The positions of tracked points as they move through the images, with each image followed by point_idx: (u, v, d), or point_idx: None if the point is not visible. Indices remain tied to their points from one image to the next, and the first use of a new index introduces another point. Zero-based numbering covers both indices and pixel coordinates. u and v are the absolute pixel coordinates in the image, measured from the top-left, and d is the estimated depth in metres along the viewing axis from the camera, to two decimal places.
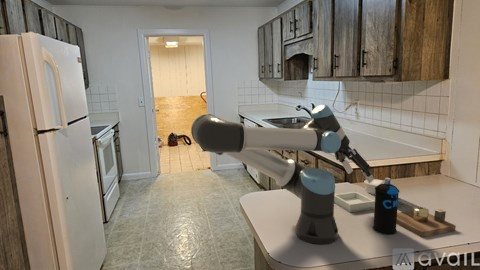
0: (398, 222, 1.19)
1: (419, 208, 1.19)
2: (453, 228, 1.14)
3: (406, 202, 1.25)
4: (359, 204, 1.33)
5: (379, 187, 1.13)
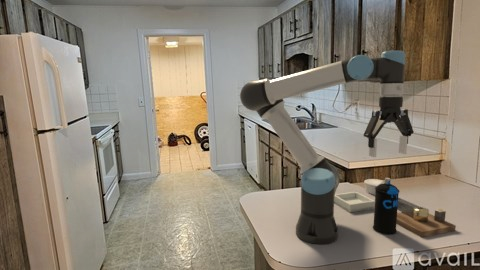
0: (398, 222, 1.19)
1: (419, 208, 1.19)
2: (453, 228, 1.14)
3: (406, 202, 1.25)
4: (359, 204, 1.33)
5: (379, 187, 1.13)
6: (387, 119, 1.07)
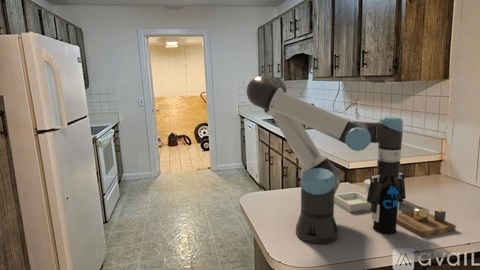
0: (398, 222, 1.19)
1: (419, 208, 1.19)
2: (453, 228, 1.14)
3: (406, 202, 1.25)
4: (359, 204, 1.33)
5: None
6: (386, 183, 1.11)
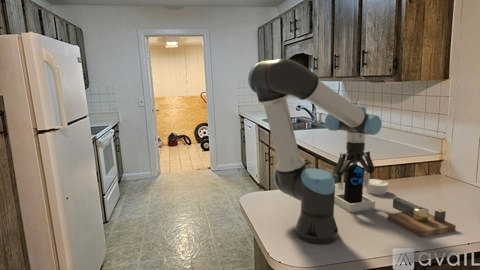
0: (398, 222, 1.19)
1: (419, 208, 1.19)
2: (453, 228, 1.14)
3: (406, 202, 1.25)
4: (359, 204, 1.33)
5: (348, 167, 1.36)
6: (352, 160, 1.34)
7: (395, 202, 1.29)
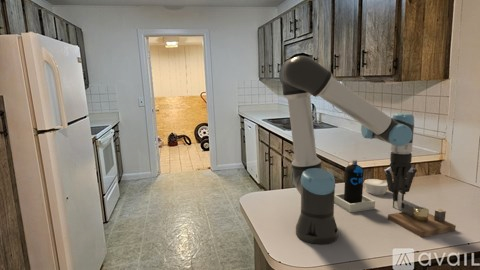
0: (398, 222, 1.19)
1: (419, 208, 1.19)
2: (453, 228, 1.14)
3: (406, 202, 1.25)
4: (359, 204, 1.33)
5: (348, 167, 1.36)
6: (399, 174, 1.23)
7: None
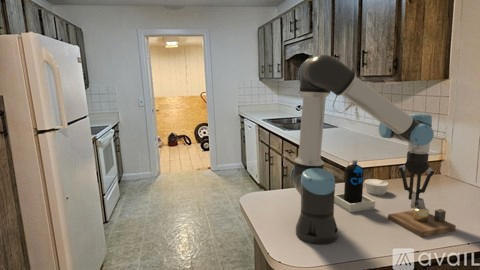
0: (398, 222, 1.19)
1: (419, 208, 1.19)
2: (453, 228, 1.14)
3: (420, 202, 1.25)
4: (359, 204, 1.33)
5: (348, 167, 1.36)
6: (412, 172, 1.25)
7: (415, 201, 1.29)
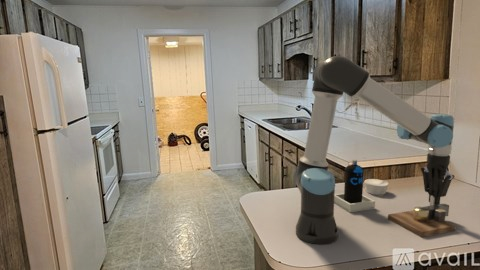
0: (398, 222, 1.19)
1: (421, 208, 1.19)
2: (453, 228, 1.14)
3: (435, 206, 1.21)
4: (359, 204, 1.33)
5: (347, 167, 1.36)
6: (430, 174, 1.22)
7: None
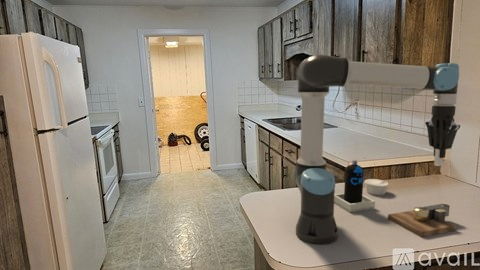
0: (398, 222, 1.19)
1: (421, 208, 1.19)
2: (453, 228, 1.14)
3: (436, 206, 1.20)
4: (359, 204, 1.33)
5: (348, 167, 1.36)
6: (435, 127, 1.19)
7: None
